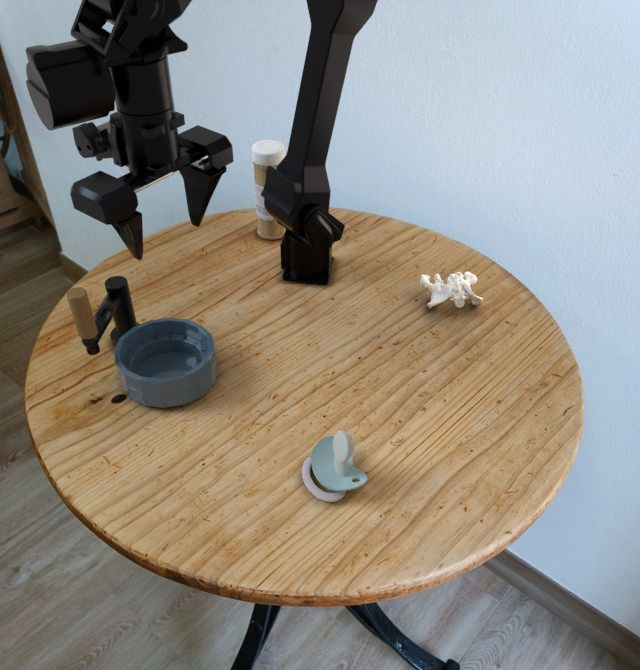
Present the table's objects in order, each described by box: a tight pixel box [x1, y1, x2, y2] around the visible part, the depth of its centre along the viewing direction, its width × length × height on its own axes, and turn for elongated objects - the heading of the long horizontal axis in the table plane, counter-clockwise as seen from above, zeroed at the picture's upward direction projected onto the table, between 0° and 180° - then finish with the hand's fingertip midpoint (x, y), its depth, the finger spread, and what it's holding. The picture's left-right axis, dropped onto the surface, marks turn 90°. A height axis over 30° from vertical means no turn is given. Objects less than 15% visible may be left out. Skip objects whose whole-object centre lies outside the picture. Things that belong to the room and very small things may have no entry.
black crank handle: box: [66, 275, 138, 356], centre depth 78 cm, size 11×3×12 cm, turn 172°
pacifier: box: [301, 430, 368, 503], centre depth 70 cm, size 7×6×6 cm
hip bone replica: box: [419, 271, 484, 309], centre depth 92 cm, size 8×4×7 cm
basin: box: [113, 317, 218, 409], centre depth 80 cm, size 11×11×4 cm
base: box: [109, 322, 141, 348], centre depth 86 cm, size 4×4×1 cm
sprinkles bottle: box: [251, 139, 286, 241], centre depth 99 cm, size 5×5×13 cm
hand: (167, 241), depth 80 cm, fingers open, 9 cm apart
